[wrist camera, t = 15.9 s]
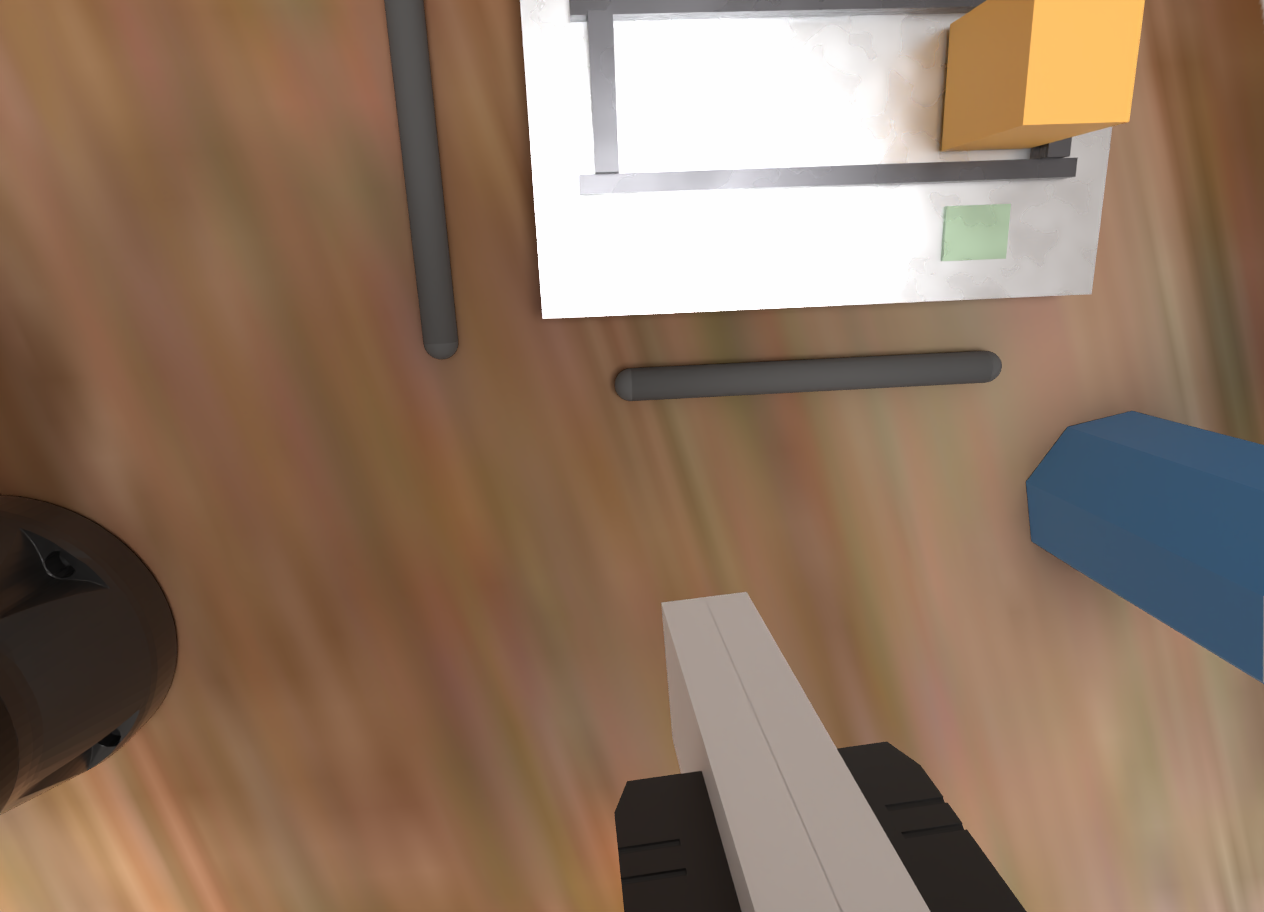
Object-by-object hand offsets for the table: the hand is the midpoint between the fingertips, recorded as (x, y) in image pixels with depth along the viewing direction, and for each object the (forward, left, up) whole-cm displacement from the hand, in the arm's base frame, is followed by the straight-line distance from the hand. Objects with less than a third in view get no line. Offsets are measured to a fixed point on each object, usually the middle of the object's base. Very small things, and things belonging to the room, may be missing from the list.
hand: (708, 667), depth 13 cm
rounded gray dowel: (-9, +14, -25) cm, 30 cm away
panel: (+9, +14, -25) cm, 30 cm away
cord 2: (+9, +1, -25) cm, 26 cm away
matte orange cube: (+16, +14, -22) cm, 30 cm away
